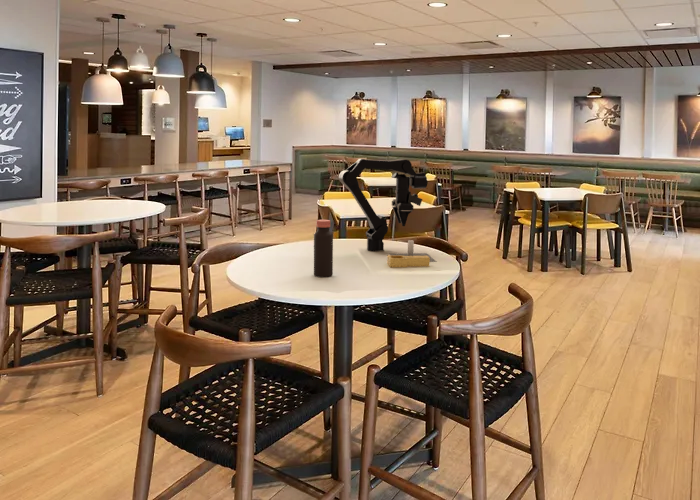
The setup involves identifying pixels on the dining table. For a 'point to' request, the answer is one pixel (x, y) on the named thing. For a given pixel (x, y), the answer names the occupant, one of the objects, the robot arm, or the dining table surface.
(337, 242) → the dining table surface
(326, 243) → the bottle
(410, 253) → the stand
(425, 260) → the tan long block
